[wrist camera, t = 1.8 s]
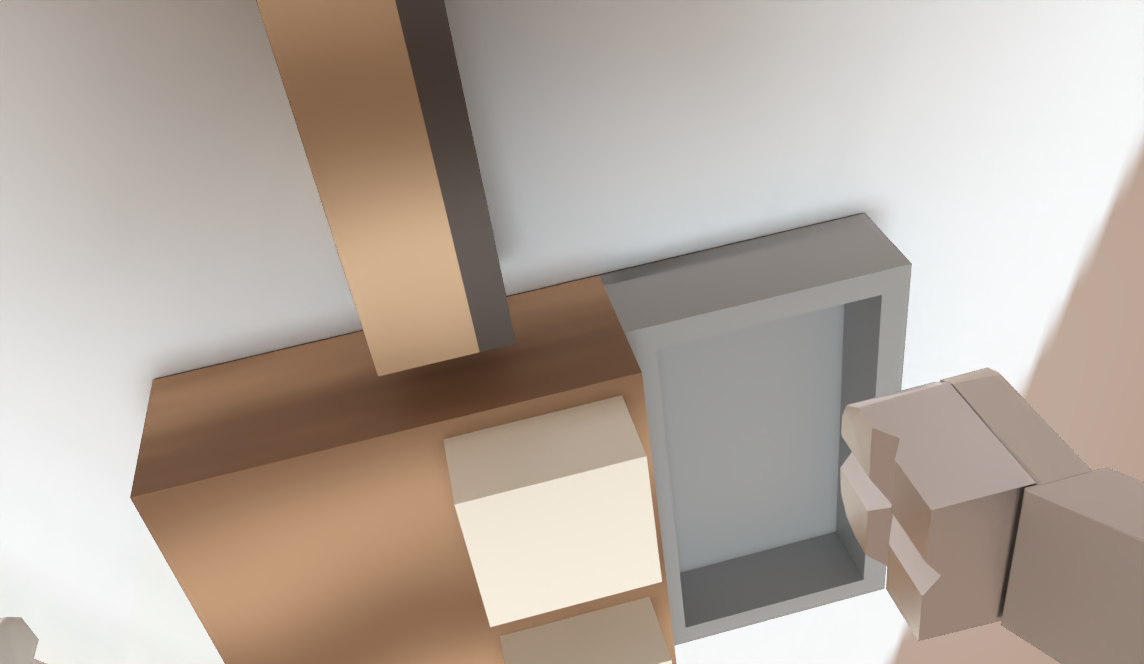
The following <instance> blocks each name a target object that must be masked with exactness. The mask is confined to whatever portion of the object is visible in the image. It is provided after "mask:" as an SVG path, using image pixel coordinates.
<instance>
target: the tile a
mask: <svg viewBox="0 0 1144 664" xmlns="http://www.w3.org/2000/svg"><path fill="white" fill-rule="evenodd" d="M443 441H444V447H445V452H446V458H447V464H448V470H449V476H450V482H451V488H452V494H453V500H454V505H455V509H456V512H457V515H458V519H459V522H460V526H461V529H462V532H463V536H464V539H465V543H466V546H467V549H468V553H469V556H470V560H471V563H472V566H473V570H474V573H475V577H476V580H477V583H478V587H479V590H480V594H481V597H482V600H483V604H484V607H485V611H486V614H487V617H488V621H489V624H490V627H493V626H497V625H501V624H504V623H508V622H512V621H516V620H520V619H523V618H527V617H531V616H535V615H538V614H542V613H546V612H550V611H554V610H557V609H561V608H565V607H569V606H572V605H576V604H580V603H584V602H588V601H591V600H595V599H599V598H603V597H606V596H610V595H614V594H618V593H622V592H625V591H629V590H633V589H637V588H640V587H644V586H648V585H652V584H656V583H659V582H662V577H661V569H660V561H659V553H658V545H657V537H656V528H655V520H654V512H653V504H652V496H651V488H650V479H649V471H648V463H647V456H646V453H645V451H644V448H643V446H642V443H641V441H640V438H639V436H638V433H637V431H636V429H635V426H634V424H633V421H632V419H631V416H630V414H629V411H628V409H627V406H626V404H625V401H624V399H623V396H622V395H621V396H617V397H613V398H609V399H605V400H601V401H597V402H593V403H589V404H584V405H580V406H576V407H572V408H568V409H564V410H560V411H556V412H552V413H548V414H544V415H540V416H536V417H532V418H528V419H524V420H520V421H515V422H511V423H507V424H503V425H499V426H495V427H491V428H487V429H483V430H479V431H475V432H471V433H467V434H463V435H459V436H455V437H451V438H446V439H443Z"/></svg>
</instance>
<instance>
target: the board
mask: <svg viewBox="0 0 1144 664" xmlns="http://www.w3.org/2000/svg"><path fill="white" fill-rule="evenodd" d="M506 298H507V303H508V307H509V312H510V317H511V322H512V326H513V331H514V336H515V341H516V344H512V345H508V346H504V347H499V348H495V349H491V350H487V351H483V352H478V353H474V354H470V355H466V356H462V357H458V358H453V359H449V360H445V361H441V362H437V363H432V364H428V365H424V366H420V367H416V368H411V369H407V370H403V371H399V372H395V373H390V374H386V375H382V376H378V374H377V371H376V368H375V365H374V362H373V359H372V356H371V353H370V350H369V347H368V344H367V340H366V337H365V334H364V331H360V332H356V333H351V334H347V335H343V336H338V337H334V338H330V339H326V340H321V341H317V342H313V343H309V344H304V345H300V346H296V347H292V348H287V349H283V350H279V351H275V352H270V353H266V354H262V355H258V356H253V357H249V358H245V359H240V360H236V361H232V362H228V363H223V364H219V365H215V366H211V367H206V368H202V369H198V370H194V371H189V372H185V373H181V374H177V375H172V376H168V377H164V378H159V379H155V380H153V382H152V387H151V392H150V397H149V403H148V408H147V413H146V418H145V423H144V429H143V434H142V439H141V444H140V449H139V455H138V460H137V465H136V470H135V476H134V481H133V486H132V491H131V496H130V498H131V500H132V502H133V503H134V505H135V507H136V509H137V510H138V512H139V514H140V516H141V517H142V519H143V521H144V523H145V524H146V526H147V528H148V530H149V531H150V533H151V535H152V537H153V538H154V540H155V542H156V544H157V545H158V547H159V549H160V551H161V552H162V554H163V556H164V558H165V559H166V561H167V563H168V565H169V566H170V568H171V570H172V572H173V573H174V575H175V577H176V579H177V580H178V582H179V584H180V586H181V587H182V589H183V591H184V593H185V594H186V596H187V598H188V600H189V601H190V603H191V605H192V607H193V608H194V610H195V612H196V614H197V615H198V617H199V619H200V621H201V622H202V624H203V626H204V628H205V629H206V631H207V633H208V635H209V636H210V638H211V640H212V642H213V643H214V645H215V647H216V649H217V650H218V652H219V654H220V656H221V657H222V659H223V661H224V663H225V664H505V660H504V655H503V650H502V645H501V639H500V636H503V635H507V634H511V633H514V632H518V631H522V630H526V629H530V628H533V627H537V626H541V625H545V624H548V623H552V622H556V621H560V620H563V619H567V618H571V617H575V616H578V615H582V614H586V613H590V612H593V611H597V610H601V609H605V608H608V607H612V606H616V605H620V604H624V603H627V602H631V601H635V600H639V599H642V598H646V597H650V600H651V603H652V605H653V608H654V611H655V614H656V617H657V620H658V623H659V625H660V628H661V631H662V634H663V637H664V640H665V643H666V645H667V648H668V651H669V654H670V657H671V660H672V664H676V657H675V648H674V640H673V631H672V623H671V614H670V606H669V598H668V589H667V581H666V572H665V564H664V555H663V547H662V538H661V530H660V521H659V513H658V504H657V496H656V487H655V479H654V471H653V462H652V454H651V445H650V437H649V428H648V420H647V411H646V403H645V394H644V386H643V377H642V372H641V369H640V367H639V365H638V362H637V360H636V358H635V356H634V353H633V351H632V349H631V347H630V344H629V342H628V340H627V338H626V335H625V333H624V331H623V329H622V326H621V324H620V322H619V320H618V317H617V315H616V313H615V310H614V308H613V306H612V304H611V301H610V299H609V297H608V295H607V292H606V290H605V288H604V286H603V283H602V281H601V279H600V277H599V275H598V276H594V277H590V278H586V279H581V280H577V281H573V282H569V283H564V284H560V285H556V286H552V287H547V288H543V289H539V290H534V291H530V292H526V293H522V294H517V295H513V296H509V297H506ZM621 395H622V396H623V399H624V401H625V404H626V406H627V409H628V411H629V414H630V416H631V419H632V421H633V424H634V426H635V429H636V431H637V433H638V436H639V438H640V441H641V443H642V446H643V448H644V451H645V453H646V456H647V463H648V471H649V479H650V488H651V496H652V504H653V512H654V520H655V528H656V537H657V545H658V553H659V561H660V569H661V577H662V582H659V583H656V584H652V585H648V586H644V587H640V588H637V589H633V590H629V591H625V592H622V593H618V594H614V595H610V596H606V597H603V598H599V599H595V600H591V601H588V602H584V603H580V604H576V605H572V606H569V607H565V608H561V609H557V610H554V611H550V612H546V613H542V614H538V615H535V616H531V617H527V618H523V619H520V620H516V621H512V622H508V623H504V624H501V625H497V626H493V627H490V624H489V621H488V617H487V614H486V611H485V607H484V604H483V600H482V597H481V594H480V590H479V587H478V583H477V580H476V577H475V573H474V570H473V566H472V563H471V560H470V556H469V553H468V549H467V546H466V543H465V539H464V536H463V532H462V529H461V526H460V522H459V519H458V515H457V512H456V509H455V505H454V500H453V494H452V488H451V482H450V476H449V470H448V464H447V458H446V452H445V447H444V441H443V439H446V438H451V437H455V436H459V435H463V434H467V433H471V432H475V431H479V430H483V429H487V428H491V427H495V426H499V425H503V424H507V423H511V422H515V421H520V420H524V419H528V418H532V417H536V416H540V415H544V414H548V413H552V412H556V411H560V410H564V409H568V408H572V407H576V406H580V405H584V404H589V403H593V402H597V401H601V400H605V399H609V398H613V397H617V396H621Z"/></svg>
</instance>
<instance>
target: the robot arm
mask: <svg viewBox="0 0 1144 664" xmlns="http://www.w3.org/2000/svg"><path fill="white" fill-rule="evenodd" d="M841 436H842V437H843V439H844V440H845V442H846V443H847V445H848V446H849V448H850V449H851V451H852V453H851V454H850V455H849V457H848V458H847V459H846V461H845V462H844V463H843V465H842V466H841V467H840V473H841V495H842V499H843V503H844V507H845V512H846V516H847V519H848V521H849V523H850V526H851V528H852V530H853V533H854V535H855V537H856V539H857V541H858V542H859V544H860V546H861V547H862V549H863V551H864V553H865V554H866V555H867V556H869V557H871V558H872V559H874V560H876V561H878V562H880V563H882V564H884V565H886V566H887V584H886V589H887V591H888V592H889V594H890V596H891V597H892V599H893V601H894V602H895V604H896V605H897V607H898V609H899V610H900V612H901V614H902V615H903V617H904V618H905V620H906V622H907V623H908V625H909V627H910V628H911V630H912V631H913V633H914V635H915V636H916V638H917V640H918V641H920V640H924V639H929V638H933V637H936V636H941V635H945V634H949V633H953V632H957V631H961V630H965V629H969V628H973V627H977V626H981V625H985V624H989V623H993V622H998V621H1001V625H1002V626H1003V627H1005V628H1006V629H1008V630H1009V631H1011V632H1013V633H1014V634H1016V635H1017V636H1019V637H1020V638H1022V639H1023V640H1025V641H1027V642H1028V643H1030V644H1031V645H1033V646H1034V647H1036V648H1038V649H1039V650H1041V651H1042V652H1044V653H1045V654H1047V655H1048V656H1050V657H1052V658H1053V659H1055V660H1056V661H1058V662H1059V663H1061V664H1144V481H1141V480H1138V479H1136V478H1133V477H1131V476H1128V475H1126V474H1123V473H1120V472H1118V471H1115V470H1113V469H1110V468H1108V467H1106V468H1101V469H1097V470H1093V471H1092V470H1091V469H1090V468H1089V467H1088V466H1087V465H1086V463H1085V462H1084V461H1083V460H1082V459H1081V458H1080V457H1079V456H1078V455H1077V454H1076V453H1075V452H1074V451H1073V450H1072V449H1071V448H1070V447H1069V446H1068V445H1067V444H1066V442H1065V441H1064V440H1063V439H1062V438H1061V437H1060V436H1059V435H1058V434H1057V433H1056V432H1055V431H1054V430H1053V429H1052V428H1051V427H1050V426H1049V425H1048V424H1047V423H1046V422H1045V420H1044V419H1043V418H1042V417H1041V416H1040V415H1039V414H1038V413H1037V412H1036V411H1035V410H1034V409H1033V408H1032V407H1031V406H1030V405H1029V404H1028V403H1027V402H1026V400H1025V399H1024V398H1023V397H1022V396H1021V395H1020V394H1019V393H1018V392H1017V391H1016V390H1015V389H1014V388H1013V387H1012V386H1011V385H1010V384H1009V383H1008V382H1007V381H1006V380H1005V378H1004V377H1003V376H1002V375H1001V374H1000V373H999V372H997V371H995V370H992V369H990V368H984V369H980V370H976V371H973V372H969V373H965V374H961V375H958V376H954V377H950V378H946V379H943V380H941V381H939V382H932V383H929V384H925V385H921V386H917V387H913V388H910V389H906V390H902V391H898V392H894V393H890V394H887V395H883V396H879V397H875V398H871V399H867V400H864V401H860V402H856V403H852V404H848V405H846V407H845V410H844V412H843V415H842V428H841ZM38 640H39V639H38V638H37V637H36V636H35V634H34V633H33V632H32V630H31V629H30V628H29V627H28V625H27V624H26V623H25V622H24V620H23V619H22V618H19V617H5V618H0V664H46V663H44V662H41V661H39V660H36V659H34V655H35V651H36V647H37V644H38Z"/></svg>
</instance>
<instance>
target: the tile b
mask: <svg viewBox="0 0 1144 664" xmlns="http://www.w3.org/2000/svg"><path fill="white" fill-rule="evenodd" d="M500 639H501V645H502V650H503V655H504V660H505V664H672V660H671V657H670V654H669V651H668V648H667V645H666V643H665V640H664V637H663V634H662V631H661V628H660V625H659V623H658V620H657V617H656V614H655V611H654V608H653V605H652V603H651V600H650V597H646V598H642V599H639V600H635V601H631V602H627V603H624V604H620V605H616V606H612V607H608V608H605V609H601V610H597V611H593V612H590V613H586V614H582V615H578V616H575V617H571V618H567V619H563V620H560V621H556V622H552V623H548V624H545V625H541V626H537V627H533V628H530V629H526V630H522V631H518V632H514V633H511V634H507V635H503V636H500Z"/></svg>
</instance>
